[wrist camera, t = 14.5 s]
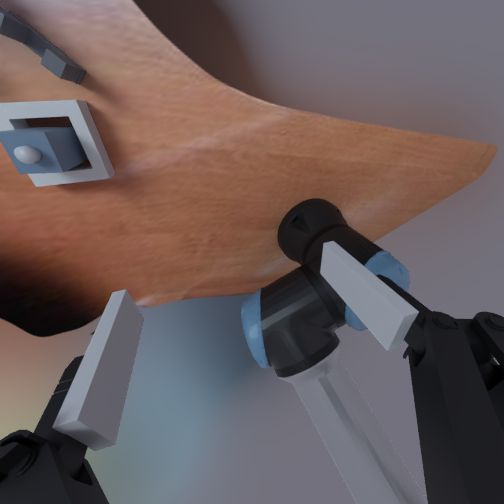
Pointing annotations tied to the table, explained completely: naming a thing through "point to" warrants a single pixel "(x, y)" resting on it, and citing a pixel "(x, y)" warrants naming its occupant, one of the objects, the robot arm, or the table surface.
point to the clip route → (40, 47)
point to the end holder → (83, 123)
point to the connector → (43, 149)
